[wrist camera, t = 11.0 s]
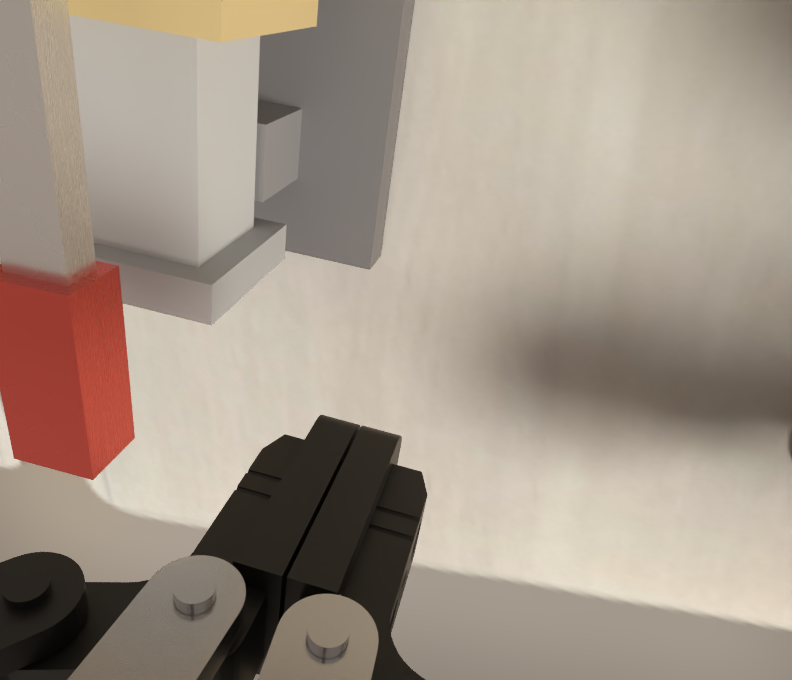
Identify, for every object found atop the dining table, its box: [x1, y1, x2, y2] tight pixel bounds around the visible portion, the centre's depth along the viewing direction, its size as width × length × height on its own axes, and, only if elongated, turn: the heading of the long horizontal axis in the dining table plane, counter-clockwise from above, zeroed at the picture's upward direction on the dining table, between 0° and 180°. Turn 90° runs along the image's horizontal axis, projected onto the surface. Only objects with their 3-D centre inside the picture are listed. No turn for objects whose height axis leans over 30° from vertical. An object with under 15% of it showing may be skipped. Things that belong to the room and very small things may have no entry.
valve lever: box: [0, 0, 135, 480], centre depth 14 cm, size 14×3×2 cm, turn 174°
